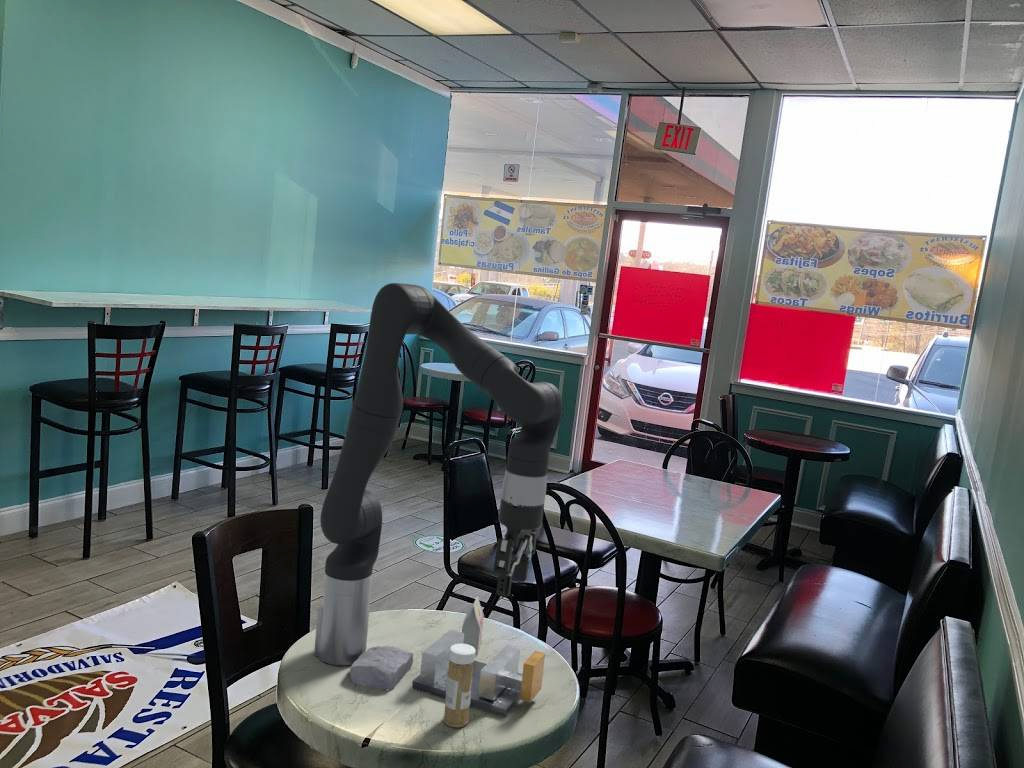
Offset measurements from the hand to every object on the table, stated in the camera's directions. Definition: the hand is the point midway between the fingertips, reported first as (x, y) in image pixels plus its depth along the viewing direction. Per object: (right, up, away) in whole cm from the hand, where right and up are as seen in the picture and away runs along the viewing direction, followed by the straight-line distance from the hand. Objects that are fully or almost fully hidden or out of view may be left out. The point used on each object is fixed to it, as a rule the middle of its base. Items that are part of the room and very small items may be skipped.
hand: (511, 587), depth 141 cm
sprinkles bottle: (-10, -24, +1) cm, 26 cm away
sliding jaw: (0, -21, +10) cm, 24 cm away
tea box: (-9, -20, +30) cm, 37 cm away
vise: (-8, -22, +14) cm, 27 cm away
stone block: (-25, -21, +15) cm, 36 cm away
